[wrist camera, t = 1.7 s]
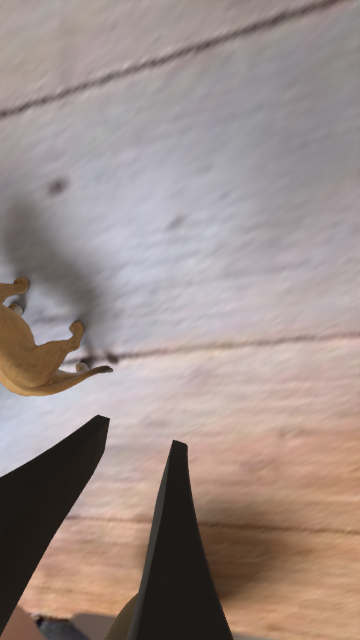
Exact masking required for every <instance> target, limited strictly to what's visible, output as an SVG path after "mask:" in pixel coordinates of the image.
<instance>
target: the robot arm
mask: <svg viewBox="0 0 360 640" xmlns="http://www.w3.org/2000/svg"><path fill="white" fill-rule="evenodd" d="M109 422H110V418H107V417H104V416H100V415H96V416H95V417H93V418H92V419H91V420H90V421H88V422H87V423H86V424H84V425H83V426H82V427H80V428H79V429H77V430H76V431H75V432H73V433H72V434H70V435H69V436H68V437H66V438H65V439H63V440H62V441H60V442H59V443H57V444H56V445H54V446H53V447H51V448H50V449H48V450H47V451H45V452H43V453H42V454H40V455H39V456H37V457H35V458H34V459H32V460H31V461H29V462H27V463H25V464H24V465H22V466H20V467H18V468H17V469H15V470H13V471H11V472H9V473H8V474H6V475H4V476H2V477H0V636H1V634H2V632H3V630H4V628H5V626H6V624H7V622H8V620H9V618H10V617H11V615H12V613H13V610H14V609H15V607H16V605H17V603H18V601H19V599H20V598H21V596H22V594H23V592H24V590H25V588H26V586H27V584H28V582H29V580H30V579H31V577H32V575H33V573H34V571H35V569H36V567H37V566H38V564H39V562H40V560H41V558H42V556H43V554H44V553H45V551H46V549H47V547H48V545H49V543H50V542H51V540H52V538H53V537H54V535H55V533H56V532H57V530H58V528H59V527H60V525H61V524H62V522H63V520H64V519H65V517H66V516H67V514H68V513H69V511H70V510H71V508H72V506H73V505H74V503H75V502H76V500H77V499H78V497H79V495H80V494H81V492H82V491H83V489H84V488H85V486H86V484H87V483H88V481H89V480H90V478H91V476H92V475H93V473H94V471H95V469H96V467H97V465H98V463H99V461H100V459H101V457H102V455H103V453H104V450H105V444H106V439H107V433H108V427H109ZM127 640H234V639H233V636H232V634H231V631H230V628H229V626H228V623H227V620H226V617H225V615H224V612H223V609H222V606H221V603H220V600H219V597H218V594H217V591H216V588H215V585H214V582H213V579H212V576H211V572H210V569H209V565H208V562H207V558H206V555H205V551H204V548H203V544H202V540H201V536H200V532H199V528H198V523H197V519H196V514H195V509H194V504H193V498H192V492H191V486H190V479H189V469H188V446H187V445H186V444H185V443H182V442H179V441H176V440H173V442H172V445H171V449H170V452H169V456H168V459H167V463H166V466H165V470H164V473H163V477H162V481H161V484H160V488H159V492H158V496H157V500H156V506H155V511H154V517H153V522H152V528H151V533H150V539H149V544H148V550H147V555H146V561H145V566H144V571H143V575H142V580H141V584H140V588H139V592H138V596H137V600H136V604H135V608H134V612H133V616H132V620H131V624H130V628H129V632H128V636H127Z"/></svg>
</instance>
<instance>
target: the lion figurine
mask: <svg viewBox="0 0 360 640" xmlns="http://www.w3.org/2000/svg"><path fill="white" fill-rule="evenodd" d="M28 288H29V286H28V281H27V280H26V279H25V278H18V279H16V280H14V284H3V283H0V382H1V383H2V384H3V385H4V386H5V387H6V388H7V389H8V390H10V391H11V392H14V393H16V394H18V395H21V396H46V395H52V394H55V393H59V392H61V391H64V390H66V389H68V388H70V387H72V386H74V385H76V384H78V383H80V382H81V381H83V380H85V379H86V378H88V377H90V376H93V375H95V374H98V373H106V372H113V369H112V368H110V367H109V366H100V367H96V368H93V369H91V370H89V367H88V366H87V365H86V364H85V363H78V364H77V365H76V371H77V373H68V372H65V371H62V370H58V368H59V367H60V365H61V364H62V362H63V360H64V359H65V357H66V356H67V354H68V353H69V352H71V351H74V350H77V349H78V348H79V346H80V342H81V339H82V336H83V334H84V327H83V325H82V324H81V323H80V322H77V321H75V322H74V323H72V324H71V326H70V327H69V330H70V331H71V333H72V334H73V336H72V337H71V338H70V339H68V340H61V341H50V342H47V343H45V344H43V345H40V346H37V345H36V344H35V341H34V336H33V334H32V332H31V330H30V327H29V326H28V324H27V323H26V322H25V321H24V320H23V318H22V317H20V316H21V315H22V313H23V310H22V308H21V307H20V306H19V305H17V304H10V306H8V307H6V306H4V305H2V303H3V302H4V301H5V300H6V298H7V297H9V296H12V295H22V294H24V293H25V292H26V291H27V290H28Z"/></svg>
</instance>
